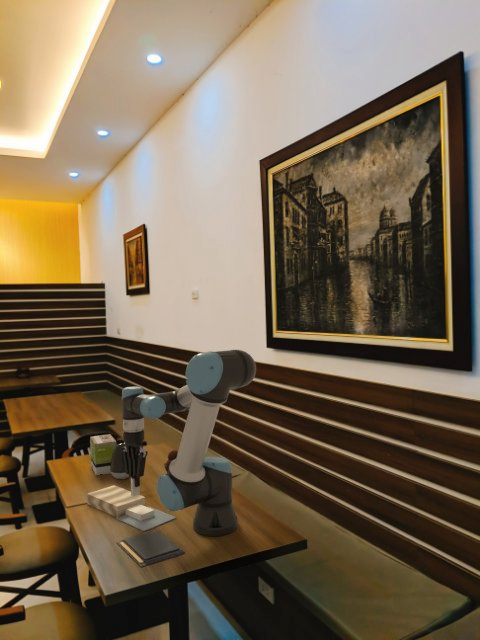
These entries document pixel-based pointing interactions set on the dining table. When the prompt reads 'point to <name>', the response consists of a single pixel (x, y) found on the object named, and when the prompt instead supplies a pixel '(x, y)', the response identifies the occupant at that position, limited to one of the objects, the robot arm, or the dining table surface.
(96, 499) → the riser
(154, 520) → the mat
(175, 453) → the ice cream bowl
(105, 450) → the tea box
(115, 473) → the pump dispenser
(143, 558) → the dark grey flat slab
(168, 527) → the dining table surface
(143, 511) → the cream rectangular block
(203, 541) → the dining table surface
